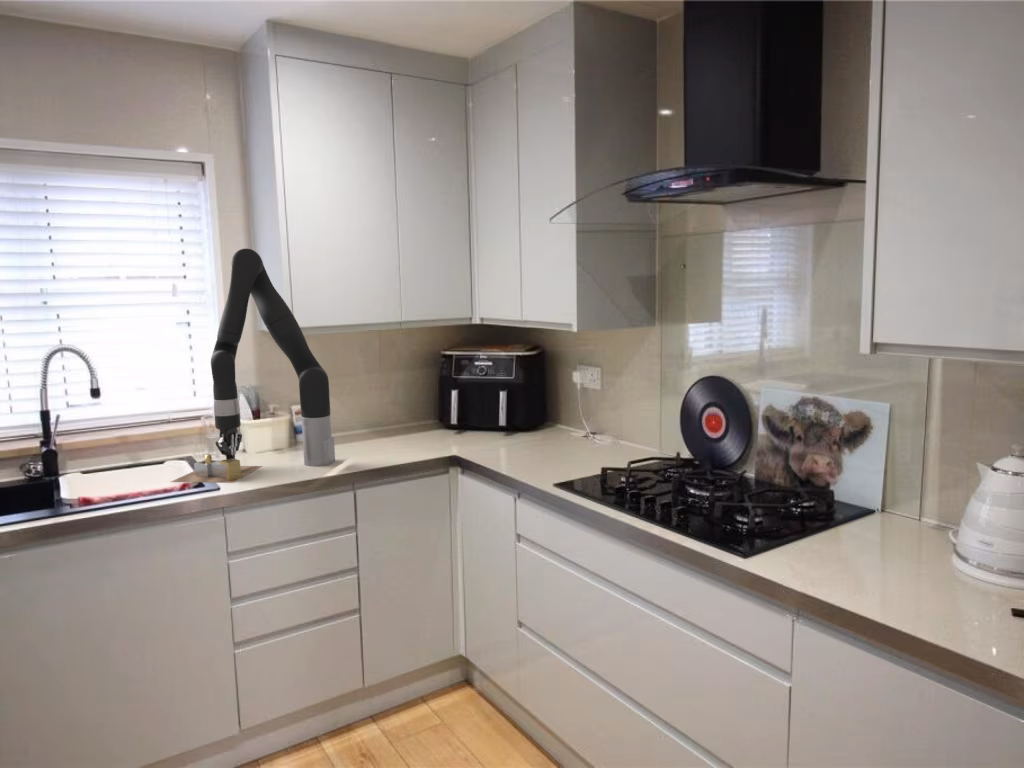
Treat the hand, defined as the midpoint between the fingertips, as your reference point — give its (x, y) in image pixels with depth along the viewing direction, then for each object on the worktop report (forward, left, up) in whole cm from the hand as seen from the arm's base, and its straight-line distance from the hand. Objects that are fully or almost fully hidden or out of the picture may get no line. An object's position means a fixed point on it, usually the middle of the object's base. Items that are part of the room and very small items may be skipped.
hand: (231, 466), depth 231 cm
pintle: (+5, +4, -2) cm, 7 cm away
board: (+2, +4, -3) cm, 5 cm away
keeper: (-5, +9, -1) cm, 10 cm away
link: (+1, +6, -1) cm, 6 cm away
